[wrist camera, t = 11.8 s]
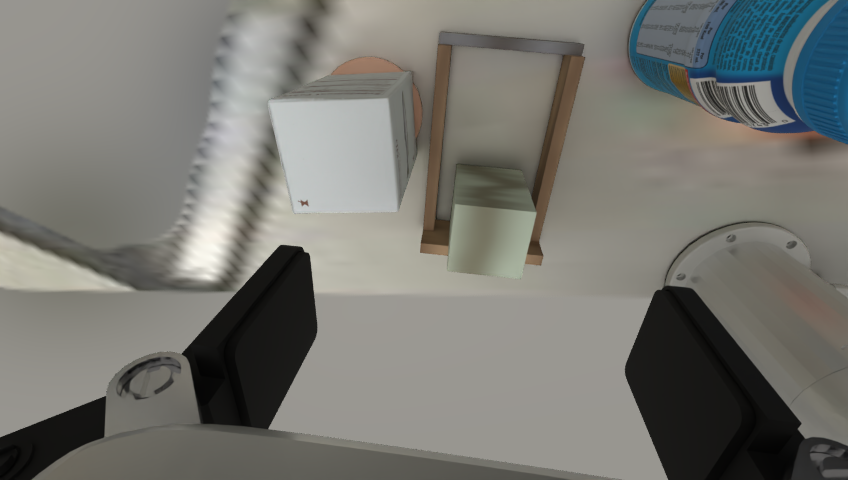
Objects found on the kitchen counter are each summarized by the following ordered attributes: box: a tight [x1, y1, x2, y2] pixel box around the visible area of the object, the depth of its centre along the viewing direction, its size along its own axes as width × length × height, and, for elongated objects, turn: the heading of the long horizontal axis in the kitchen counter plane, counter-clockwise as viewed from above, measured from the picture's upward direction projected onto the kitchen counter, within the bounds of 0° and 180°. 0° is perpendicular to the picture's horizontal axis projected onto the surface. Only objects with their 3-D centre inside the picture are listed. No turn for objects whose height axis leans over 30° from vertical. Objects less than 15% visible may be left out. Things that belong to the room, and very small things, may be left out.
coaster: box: [331, 57, 422, 138], centre depth 35 cm, size 9×9×1 cm
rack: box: [420, 32, 585, 279], centre depth 32 cm, size 11×18×9 cm, turn 176°
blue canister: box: [629, 0, 848, 144], centre depth 22 cm, size 8×8×20 cm
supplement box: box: [268, 71, 417, 214], centre depth 29 cm, size 7×7×13 cm
